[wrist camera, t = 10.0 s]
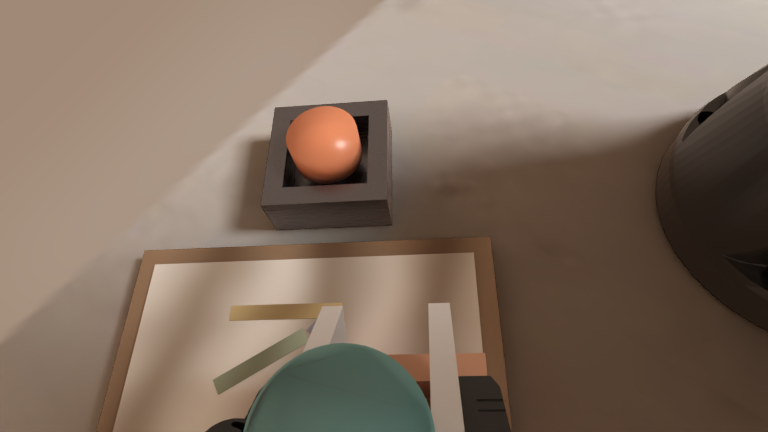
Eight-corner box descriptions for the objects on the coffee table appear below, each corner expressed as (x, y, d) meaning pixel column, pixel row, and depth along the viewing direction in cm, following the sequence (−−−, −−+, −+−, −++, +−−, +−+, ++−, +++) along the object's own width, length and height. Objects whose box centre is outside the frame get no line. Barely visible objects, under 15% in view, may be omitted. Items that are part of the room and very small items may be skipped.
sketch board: (488, 244, 27) (490, 234, 26) (528, 601, 19) (533, 609, 18) (153, 257, 29) (142, 248, 28) (68, 587, 21) (48, 594, 20)
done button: (363, 126, 29) (358, 103, 27) (361, 182, 27) (355, 161, 25) (298, 130, 29) (289, 108, 27) (292, 185, 27) (282, 166, 26)
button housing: (391, 131, 32) (387, 100, 29) (392, 224, 28) (386, 199, 26) (288, 137, 32) (275, 107, 30) (277, 230, 29) (260, 205, 26)
